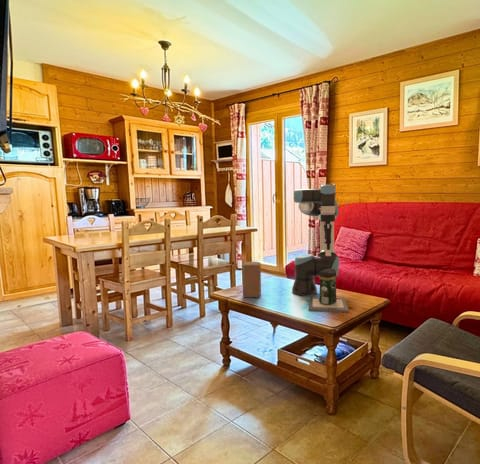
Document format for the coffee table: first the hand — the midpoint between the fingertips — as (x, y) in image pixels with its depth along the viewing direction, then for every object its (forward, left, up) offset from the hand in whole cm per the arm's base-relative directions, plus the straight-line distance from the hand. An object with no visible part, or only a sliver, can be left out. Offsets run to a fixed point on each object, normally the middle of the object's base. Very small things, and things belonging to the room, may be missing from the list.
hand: (327, 253), depth 187 cm
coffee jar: (0, 0, -27) cm, 27 cm away
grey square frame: (0, 0, -29) cm, 29 cm away
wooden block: (-13, -44, -29) cm, 54 cm away
